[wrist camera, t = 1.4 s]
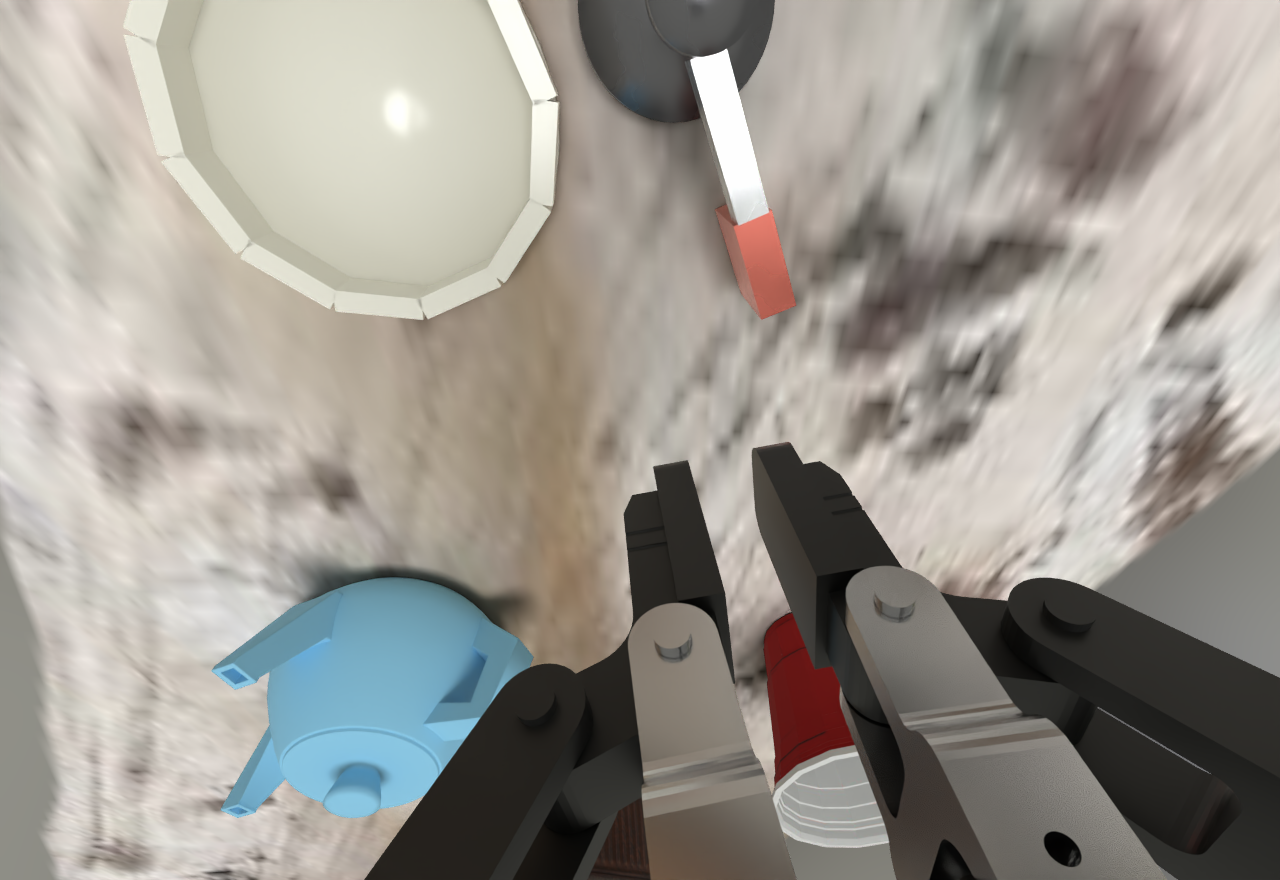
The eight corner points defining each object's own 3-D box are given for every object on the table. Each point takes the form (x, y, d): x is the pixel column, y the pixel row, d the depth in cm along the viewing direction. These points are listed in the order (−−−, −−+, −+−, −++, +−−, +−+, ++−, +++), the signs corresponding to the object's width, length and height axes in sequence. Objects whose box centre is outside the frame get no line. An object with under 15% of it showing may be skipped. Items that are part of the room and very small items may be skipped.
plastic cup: (757, 573, 38) (822, 752, 27) (896, 592, 40) (1003, 763, 30) (707, 673, 43) (745, 853, 33) (832, 684, 45) (903, 856, 35)
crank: (670, 66, 21) (685, 62, 18) (707, 47, 21) (729, 41, 18) (741, 293, 26) (762, 321, 23) (771, 280, 26) (797, 307, 23)
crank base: (544, -57, 20) (528, -116, 14) (732, -157, 19) (798, -266, 13) (622, 149, 23) (635, 170, 18) (782, 75, 22) (852, 70, 17)
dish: (83, -1, 19) (19, -13, 17) (435, -211, 17) (413, -253, 15) (345, 343, 27) (324, 366, 24) (613, 222, 25) (616, 235, 23)
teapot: (493, 715, 44) (470, 880, 35) (283, 690, 40) (195, 868, 31) (543, 581, 36) (530, 745, 27) (291, 535, 33) (178, 708, 23)
